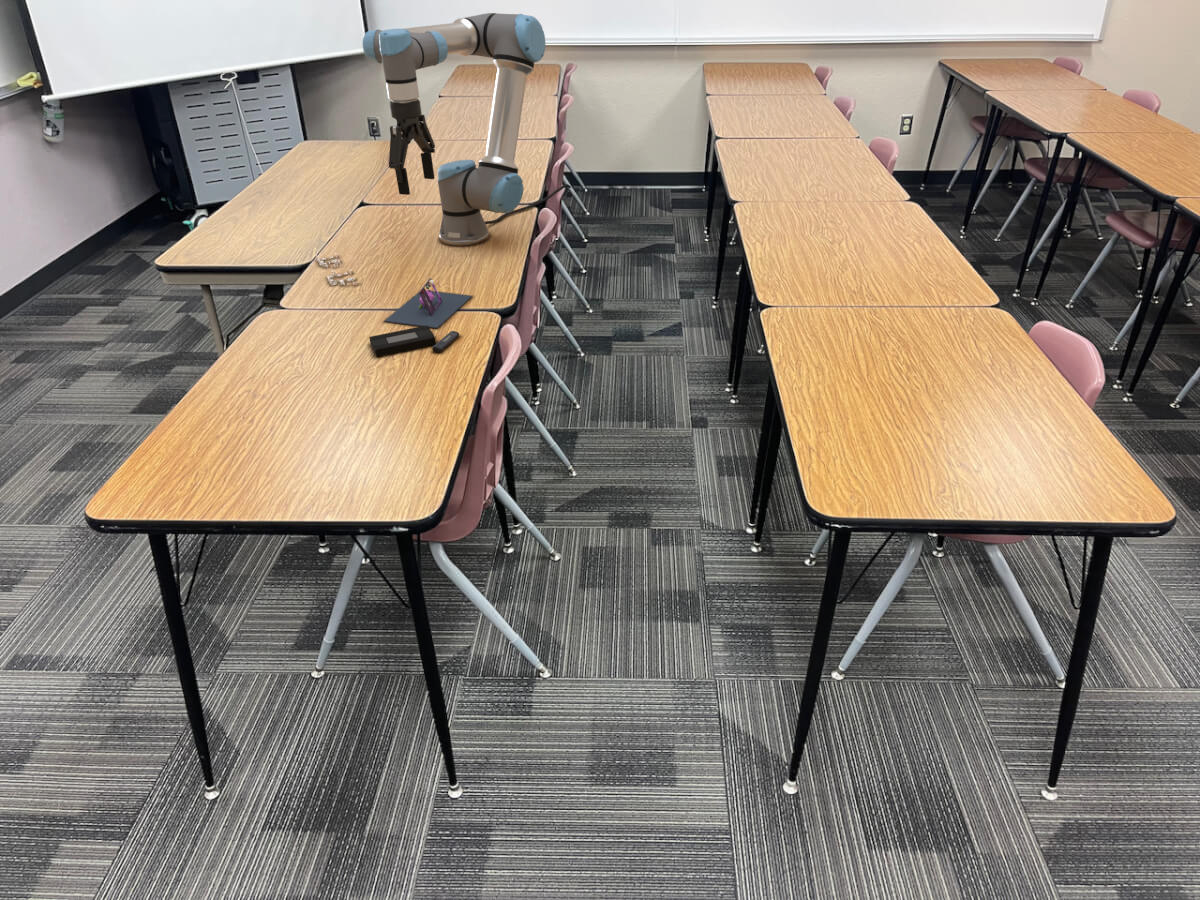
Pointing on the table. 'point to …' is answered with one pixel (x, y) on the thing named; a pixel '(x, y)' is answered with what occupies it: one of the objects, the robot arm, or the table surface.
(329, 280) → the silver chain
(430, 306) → the game card
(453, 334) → the usb stick
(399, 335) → the vhs tape
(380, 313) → the table surface
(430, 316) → the mat
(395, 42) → the robot arm
